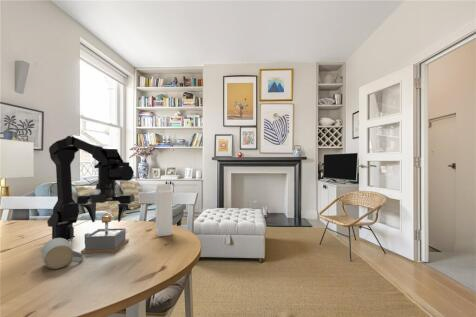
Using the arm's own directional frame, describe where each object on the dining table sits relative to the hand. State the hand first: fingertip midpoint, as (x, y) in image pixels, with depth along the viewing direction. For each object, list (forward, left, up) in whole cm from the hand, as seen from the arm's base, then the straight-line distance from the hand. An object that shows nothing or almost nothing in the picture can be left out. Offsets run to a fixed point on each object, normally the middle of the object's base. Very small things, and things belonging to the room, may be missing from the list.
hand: (106, 221), depth 92 cm
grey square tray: (0, 0, -9) cm, 9 cm away
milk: (+18, +15, -10) cm, 25 cm away
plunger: (0, 0, -5) cm, 5 cm away
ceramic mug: (-7, -15, -10) cm, 19 cm away
